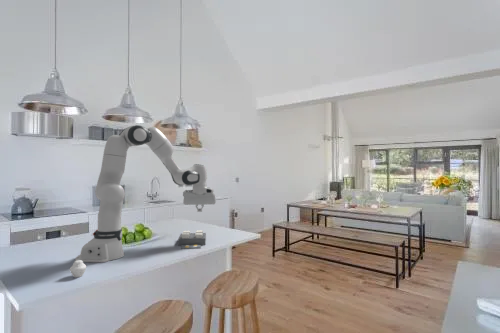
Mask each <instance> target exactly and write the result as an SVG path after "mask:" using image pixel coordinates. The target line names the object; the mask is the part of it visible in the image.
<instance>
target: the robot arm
mask: <svg viewBox="0 0 500 333" xmlns="http://www.w3.org/2000/svg"><path fill="white" fill-rule="evenodd" d="M142 145H147V147H149V149H150V150H151V151H152V152H153V153H154V155H156V157H157V158H158V159H159V160H160V161H161V162H162V164H163V166H165V169H167V171H168V172H169V174H170V176H171V179H172V181H173V182H174V184H176V185H178V186H192V189H185V190H184V191H183V192H182V196H183V201H182V202H183V203H182V204H183V205H185V206H188V205H189V206H191V205H193V206H195V208H196V210H197V211H196V212H197V213H198V212H199V213H201V212H203V208H204V207H205V206H204V205H215V204H216V202H217V201H216V195H215V193H214V192H215V191H214V189H213V188H211V187H207V186H208V185H207V179H208V177H207V176H208V175H207V167H206V166H205V165H204V164H197V163H195V164H193V165H192V166H190V167H189V168H187V169H182V168H181V167H179V166H178V164H177V163H176V161H175V160H174V159H173V157H172V156H173V153H174V146H173V144H172V143H171V141H170V139H168V138H167V137H166V135H165V134H164V133H163V132H162V131H161V130H160V129H159V128H157V127H155V126H151V127H147V128H146V127H145V126H142V125H137V124H135V125H131V126H127V127H125V128H123V129H122V131H121V132H120V133H119V134H113V135H110V136H108V138H107V140H106V142H105V146H104V149H103V155H102V162H101V168H100V172H99V175H98V179H97V183H96V187H95V190H94V191H95V192H94V193H95V196H96V198H97V199H98V200H99V208H98V213H97V229H95V231H93V233H92V236H93V238H92V239H90V240H89V241H88V242H87V243H85V244H84V245H83V246H82V247H81V250H80V254H79V255H77V256H76V257H75V260H74V262H75V261H77V260H82V261H83V263H106V262H110V261H114V260H117V259H122V257H124V256H125V252H124V248H123V242H122V241H123V240H122V239H123V228H122V212H123V211H122V210H123V206H124V205H123V204H124V199H125V197H126V191H125V189H124V188H123V186H122V185H121V184H120V183H121V181H122V178H123V175H124V173H125V170H126V169H125V168H126V163H127V162H126V161H127V154H128V153H127V152H128V149H129V148H130V147H138V146H142ZM200 205H201V207H200V208H199V206H200Z"/></svg>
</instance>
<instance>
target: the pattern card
mask: <svg viewBox="0 0 500 333" xmlns="http://www.w3.org/2000/svg"><path fill="white" fill-rule="evenodd" d="M201 247H202V245H182V246H180V249H181V250H185V249H187V250H189V249H201Z"/></svg>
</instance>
